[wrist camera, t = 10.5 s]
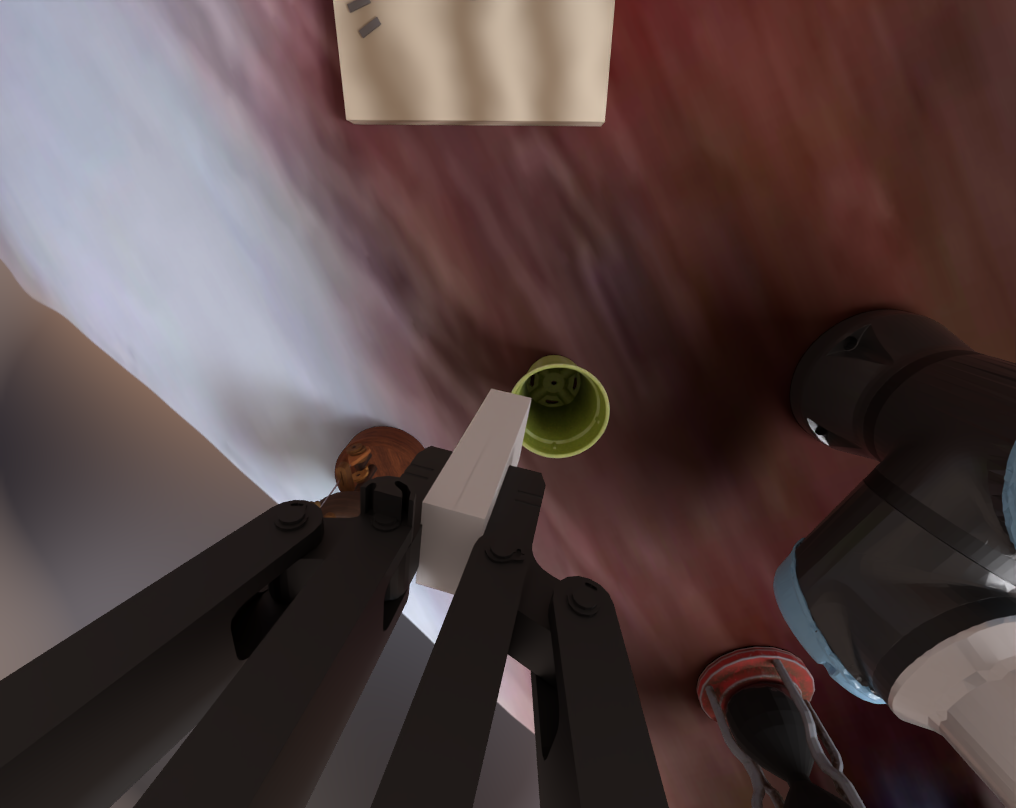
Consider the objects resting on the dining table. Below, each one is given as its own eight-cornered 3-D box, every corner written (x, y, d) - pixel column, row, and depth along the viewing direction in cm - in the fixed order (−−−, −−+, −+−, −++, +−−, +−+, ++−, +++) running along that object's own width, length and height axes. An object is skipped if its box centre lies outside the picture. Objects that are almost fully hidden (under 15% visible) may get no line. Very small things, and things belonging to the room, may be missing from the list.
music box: (317, 434, 52) (219, 545, 33) (400, 399, 51) (348, 493, 32) (379, 532, 57) (326, 675, 38) (456, 502, 56) (440, 635, 37)
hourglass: (681, 710, 68) (760, 959, 45) (717, 637, 62) (830, 883, 39) (781, 724, 69) (910, 979, 46) (827, 654, 63) (1002, 907, 40)
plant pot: (508, 418, 50) (505, 456, 42) (511, 337, 46) (508, 362, 38) (591, 421, 50) (603, 460, 42) (600, 340, 46) (615, 366, 38)
